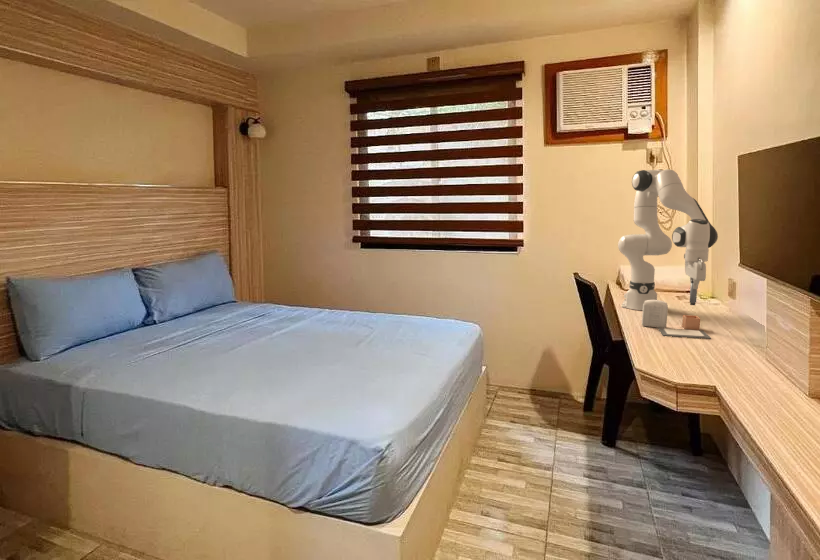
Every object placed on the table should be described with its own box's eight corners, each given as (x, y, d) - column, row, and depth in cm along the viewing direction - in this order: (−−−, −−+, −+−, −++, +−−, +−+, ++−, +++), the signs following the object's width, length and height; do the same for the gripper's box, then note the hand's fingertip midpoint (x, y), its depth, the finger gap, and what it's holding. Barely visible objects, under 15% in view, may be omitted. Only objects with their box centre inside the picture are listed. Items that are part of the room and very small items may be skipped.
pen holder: (681, 326, 231) (682, 315, 230) (696, 327, 229) (697, 315, 228) (684, 330, 225) (685, 317, 224) (699, 330, 224) (700, 318, 223)
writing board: (657, 329, 227) (658, 327, 227) (703, 331, 222) (703, 329, 222) (663, 336, 216) (663, 334, 216) (710, 339, 211) (710, 337, 211)
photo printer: (666, 326, 231) (668, 300, 229) (666, 328, 228) (668, 301, 226) (642, 324, 236) (643, 298, 234) (641, 326, 233) (642, 299, 231)
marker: (695, 304, 226) (697, 280, 224) (696, 305, 223) (698, 280, 222) (688, 304, 227) (690, 279, 225) (689, 305, 224) (691, 280, 223)
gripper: (711, 259, 211) (708, 292, 213) (698, 254, 230) (696, 284, 233) (694, 259, 213) (691, 291, 215) (683, 254, 232) (680, 283, 234)
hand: (694, 287), depth 224 cm, fingers closed on marker, 3 cm apart
